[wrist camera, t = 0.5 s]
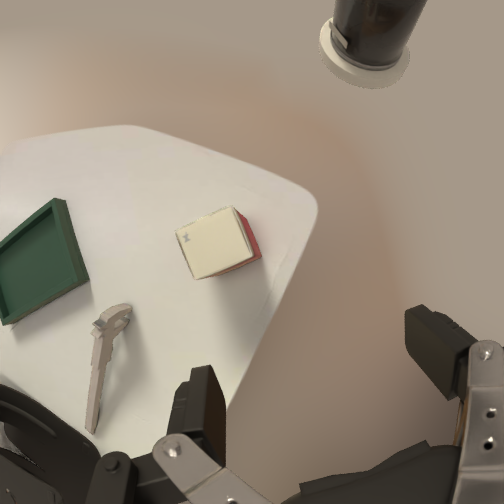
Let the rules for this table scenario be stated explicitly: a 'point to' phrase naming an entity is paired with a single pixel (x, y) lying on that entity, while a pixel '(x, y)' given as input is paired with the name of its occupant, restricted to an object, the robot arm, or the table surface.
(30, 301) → the tray
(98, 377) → the caliper
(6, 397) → the laptop stand
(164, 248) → the table surface
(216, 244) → the small box
